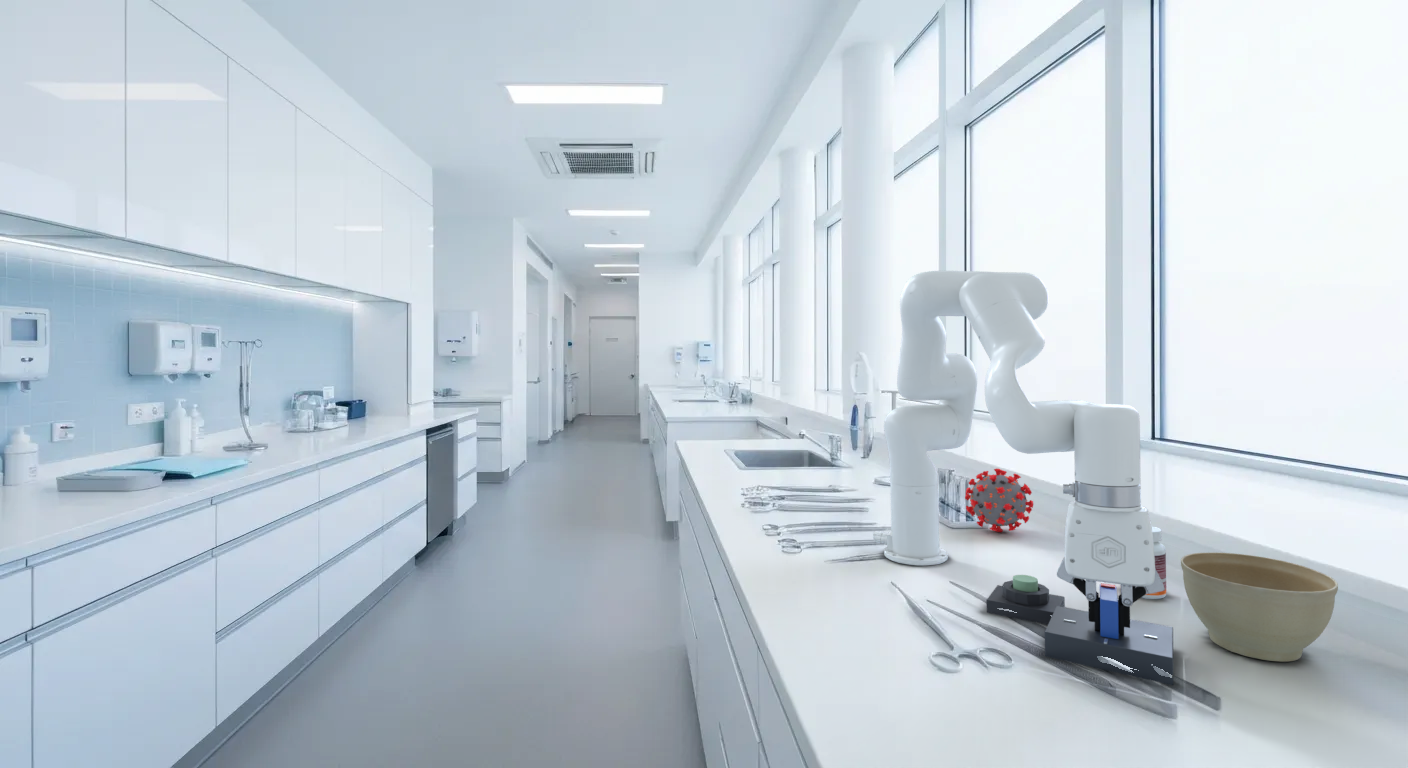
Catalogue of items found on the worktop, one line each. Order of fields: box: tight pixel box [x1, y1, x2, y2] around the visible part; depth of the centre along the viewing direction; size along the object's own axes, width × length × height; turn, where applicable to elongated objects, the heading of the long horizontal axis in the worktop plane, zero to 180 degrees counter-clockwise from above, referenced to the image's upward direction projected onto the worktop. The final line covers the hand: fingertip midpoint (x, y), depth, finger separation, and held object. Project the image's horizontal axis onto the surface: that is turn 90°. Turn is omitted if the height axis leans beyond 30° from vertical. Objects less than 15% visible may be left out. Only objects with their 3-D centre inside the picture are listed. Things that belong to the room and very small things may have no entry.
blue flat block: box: [1099, 582, 1119, 639], centre depth 85 cm, size 6×2×5 cm, turn 148°
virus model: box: [964, 468, 1034, 533], centre depth 147 cm, size 14×15×15 cm
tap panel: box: [1044, 606, 1174, 686], centre depth 85 cm, size 14×11×4 cm
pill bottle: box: [1140, 525, 1167, 600], centre depth 106 cm, size 6×6×11 cm
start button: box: [1012, 574, 1039, 592], centre depth 100 cm, size 4×4×2 cm
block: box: [985, 579, 1066, 626], centre depth 100 cm, size 10×8×4 cm
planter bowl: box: [1180, 551, 1339, 663], centre depth 86 cm, size 16×16×11 cm
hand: (1109, 628), depth 85 cm, fingers closed on blue flat block, 2 cm apart
